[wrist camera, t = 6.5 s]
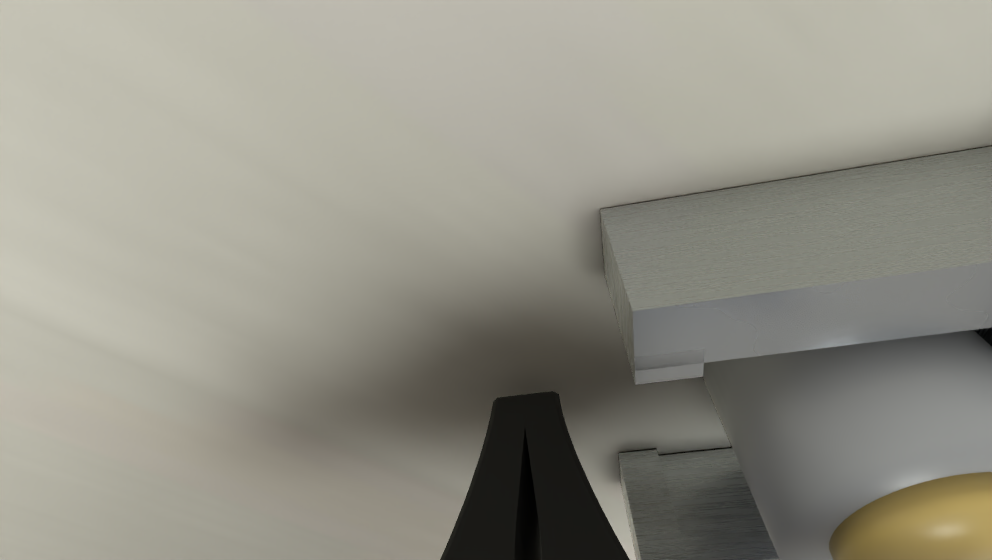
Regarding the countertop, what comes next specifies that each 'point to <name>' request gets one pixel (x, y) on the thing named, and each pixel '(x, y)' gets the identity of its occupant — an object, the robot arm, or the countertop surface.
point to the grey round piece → (866, 446)
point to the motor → (783, 306)
